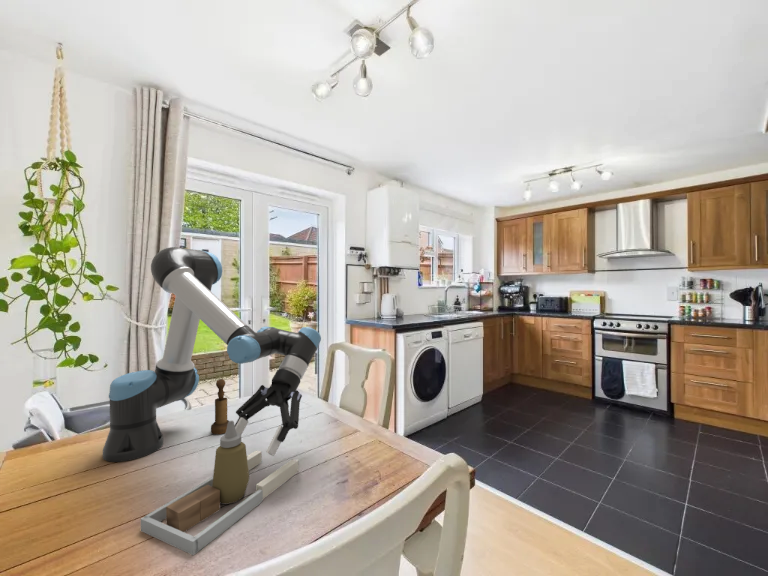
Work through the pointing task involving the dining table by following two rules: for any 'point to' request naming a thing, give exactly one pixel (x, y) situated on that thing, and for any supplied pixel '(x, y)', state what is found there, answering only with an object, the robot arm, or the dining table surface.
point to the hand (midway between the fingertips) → (249, 448)
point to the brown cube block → (183, 513)
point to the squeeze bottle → (231, 466)
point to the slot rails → (275, 478)
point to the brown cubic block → (207, 501)
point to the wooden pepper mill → (220, 410)
